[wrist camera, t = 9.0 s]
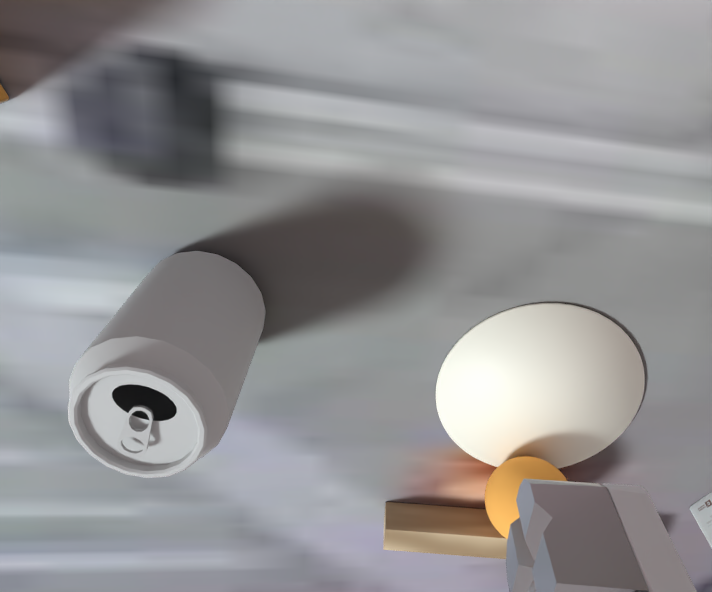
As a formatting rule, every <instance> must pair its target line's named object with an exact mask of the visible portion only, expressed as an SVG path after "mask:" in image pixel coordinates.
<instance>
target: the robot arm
mask: <svg viewBox="0 0 712 592" xmlns="http://www.w3.org/2000/svg"><path fill="white" fill-rule="evenodd" d="M516 502H517V507H518V511H519V516H520V517H519V518H518V519H517V520H515V521H514V522H513V523H511V524H510V529H509V534H508V539H507V552H506V569H507V580H508V586H509V592H697V591H696V589H695V587H694V585H693V583H692V581H691V579H690V577H689V575H688V573H687V571H686V569H685V567H684V565H683V563H682V561H681V559H680V557H679V555H678V553H677V551H676V549H675V546H674V544H673V542H672V540H671V538H670V536H669V534H668V532H667V530H666V528H665V526H664V524H663V522H662V520H661V518H660V516H659V514H658V512H657V510H656V508H655V506H654V504H653V502H652V500H651V498H650V496H649V494H648V492H647V491H646V490H645V489H644V488H643V487H642V486H638V485H621V484H604V483H602V484H597V483H584V482H569V481H554V480H539V479H523V481H522V483H521V484H520V486H519V490H518V494H517V498H516Z"/></svg>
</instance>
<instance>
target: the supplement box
mask: <svg viewBox="0 0 712 592" xmlns="http://www.w3.org/2000/svg"><path fill="white" fill-rule="evenodd" d="M690 511H691V512H692V514H693V516H694V518H695V519H696V521H697V523H698V525H699V527H700V528H701V530H702V532H703V534H704V535H705V537H706V539H707V541H708V542H709V544H710V546H711V548H712V492H711V493H709V494H708V495H706V496H705V497H703V498H702V499H700V500H699V501H697V502H696V503H694V504H693V505H692V506H691V507H690Z"/></svg>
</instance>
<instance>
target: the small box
mask: <svg viewBox="0 0 712 592" xmlns="http://www.w3.org/2000/svg"><path fill="white" fill-rule="evenodd" d="M8 100H9V97H8V95H7V93H6V92H5V90H4V89H3V87H2V86H1V84H0V104H1V103H4V102H6V101H8Z"/></svg>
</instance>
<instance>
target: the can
mask: <svg viewBox="0 0 712 592" xmlns="http://www.w3.org/2000/svg"><path fill="white" fill-rule="evenodd" d="M265 312H266V310H265V306H264V302H263V297H262V293H261V292H260V290H259V288H258V287H257V285H256V284H255V282H254V280H253V279H252V277H251V276H250V275H249V274H247V273H246V272H245V271H244V270H243V269H242V268H241V267H240V266H238V265H237V264H236V263H234V262H232V261H230V260H228V259H226V258H224V257H222V256H220V255H218V254H212V253H207V252H201V251H191V252H182V253H176V254H174V255H172V256H170V257H168V258H166V259H163V260H161V261H160V262H159V263H158V264H157V265H156V266H155V267H154V268H153V269H152V270H151V271H150V272H149V273H148V275H147V276H146V277H145V278H144V279H143V281H142V282H141V283H140V284H139V286H138V287H137V288H136V289H135V291H134V292H133V293H132V294H131V295H130V297H129V298H128V299H127V300H126V302H125V303H124V304H123V305H122V307H121V308H120V309H119V310H118V311H117V313H116V314H115V315H114V316H113V318H112V319H111V320H110V321H109V323H108V324H107V325H106V326H105V327H104V329H103V330H102V331H101V332H100V334H99V335H98V336H97V337H96V339H95V340H94V341H93V342H92V343H91V345H90V346H89V347H88V348H87V350H86V351H85V352H84V353H83V355H82V356H81V357H80V358H79V359H78V361H77V362H76V363H75V366H74V369H73V371H72V374H71V377H70V379H69V396H70V400H69V403H68V418H69V424H70V426H71V428H72V430H73V433H74V435H75V437H76V439H77V440H78V442H79V443H80V444H81V445H82V446H83V447H84V449H85V450H86V451H87V452H88V453H89V454H90V455H91V456H93V457H94V458H95V459H97V460H98V461H100V462H101V463H103V464H104V465H105V466H107V467H109V468H112V469H114V470H117V471H119V472H122V473H124V474H127V475H133V476H139V477H145V478H154V477H168V476H170V475H173V474H176V473H179V472H181V471H184V470H186V469H187V468H188V467H189V466H191V465H192V464H193V463H194V462H196V461H197V460H198V459H200V458H202V457H204V456H205V455H206V454H207V453H208V452H210V451H211V450H212V449H213V448H215V447H216V446H217V445H218V444H219V442H220V440H221V438H222V436H223V435H224V433H225V431H226V429H227V427H228V424H229V421H230V418H231V416H232V413H233V410H234V407H235V405H236V402H237V399H238V397H239V394H240V391H241V388H242V386H243V383H244V380H245V377H246V375H247V372H248V369H249V366H250V364H251V361H252V358H253V355H254V353H255V350H256V347H257V344H258V342H259V339H260V336H261V333H262V331H263V328H264V321H265Z"/></svg>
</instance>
